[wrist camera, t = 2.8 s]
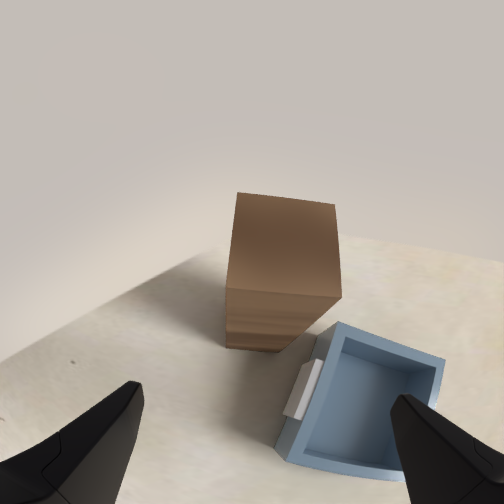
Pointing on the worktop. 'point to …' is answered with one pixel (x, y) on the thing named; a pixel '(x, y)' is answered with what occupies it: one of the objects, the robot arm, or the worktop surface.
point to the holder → (354, 403)
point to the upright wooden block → (279, 270)
